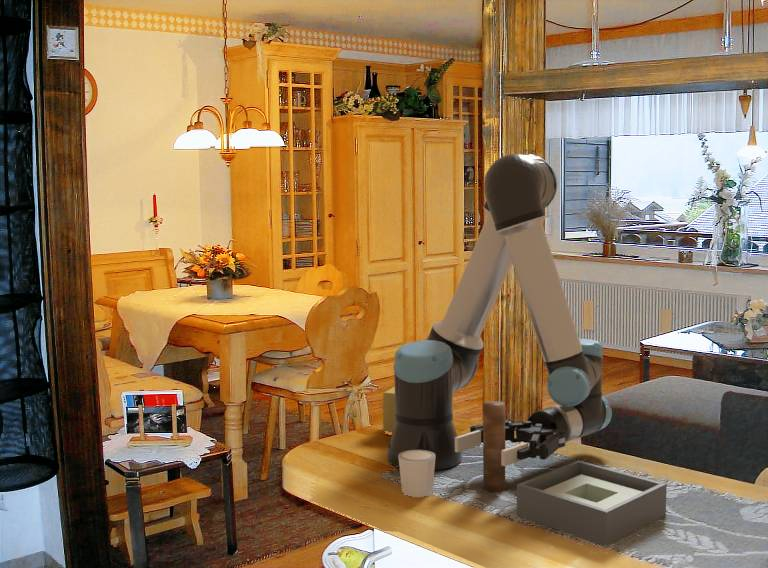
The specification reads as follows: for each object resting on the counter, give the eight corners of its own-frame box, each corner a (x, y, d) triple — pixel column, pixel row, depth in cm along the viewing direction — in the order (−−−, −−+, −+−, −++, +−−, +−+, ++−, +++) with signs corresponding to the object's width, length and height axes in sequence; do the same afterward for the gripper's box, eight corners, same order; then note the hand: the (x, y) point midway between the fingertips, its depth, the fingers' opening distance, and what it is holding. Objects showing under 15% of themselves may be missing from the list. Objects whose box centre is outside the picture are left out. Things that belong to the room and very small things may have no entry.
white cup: (433, 499, 160) (432, 461, 159) (395, 497, 161) (394, 459, 160) (438, 486, 166) (438, 449, 165) (402, 484, 168) (401, 448, 167)
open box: (516, 515, 151) (516, 484, 151) (578, 489, 163) (578, 460, 162) (606, 546, 138) (606, 512, 138) (665, 515, 150) (666, 483, 150)
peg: (478, 488, 165) (478, 403, 162) (493, 483, 167) (492, 399, 165) (495, 494, 162) (495, 407, 160) (509, 488, 164) (509, 403, 162)
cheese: (441, 427, 204) (441, 384, 203) (424, 440, 195) (423, 395, 193) (399, 423, 208) (399, 381, 207) (380, 435, 199) (379, 391, 198)
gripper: (603, 457, 168) (529, 487, 153) (508, 432, 184) (433, 457, 169) (604, 418, 167) (529, 444, 152) (508, 397, 183) (432, 419, 169)
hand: (479, 451), depth 161 cm, fingers open, 10 cm apart
